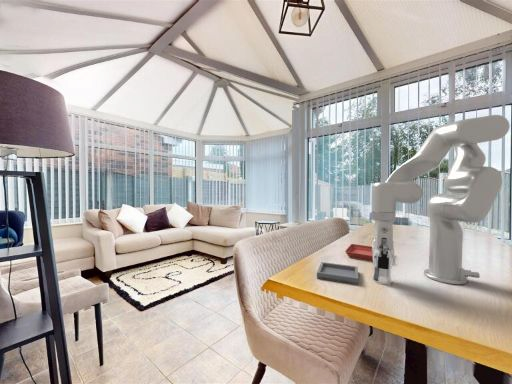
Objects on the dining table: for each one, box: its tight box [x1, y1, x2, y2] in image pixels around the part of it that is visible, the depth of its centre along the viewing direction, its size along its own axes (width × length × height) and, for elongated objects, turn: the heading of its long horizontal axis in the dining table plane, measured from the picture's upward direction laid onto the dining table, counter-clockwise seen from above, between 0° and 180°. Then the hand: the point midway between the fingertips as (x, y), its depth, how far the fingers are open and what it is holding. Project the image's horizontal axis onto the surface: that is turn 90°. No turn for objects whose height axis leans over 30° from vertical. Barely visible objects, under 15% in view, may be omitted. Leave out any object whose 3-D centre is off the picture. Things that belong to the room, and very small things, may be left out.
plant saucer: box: [344, 243, 373, 262], centre depth 113 cm, size 18×18×3 cm
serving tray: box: [316, 261, 359, 286], centre depth 88 cm, size 14×13×2 cm
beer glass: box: [371, 237, 395, 286], centre depth 82 cm, size 7×7×15 cm
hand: (381, 264), depth 82 cm, fingers open, 9 cm apart
